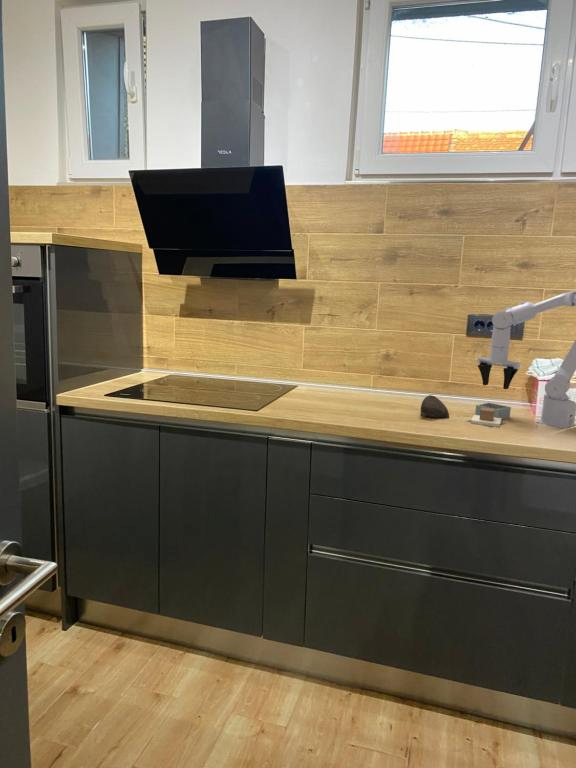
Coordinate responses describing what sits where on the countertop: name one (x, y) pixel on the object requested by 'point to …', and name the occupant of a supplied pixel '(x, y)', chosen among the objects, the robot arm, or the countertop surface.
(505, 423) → the mat
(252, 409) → the countertop surface
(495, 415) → the box
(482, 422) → the lid
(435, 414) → the stone
